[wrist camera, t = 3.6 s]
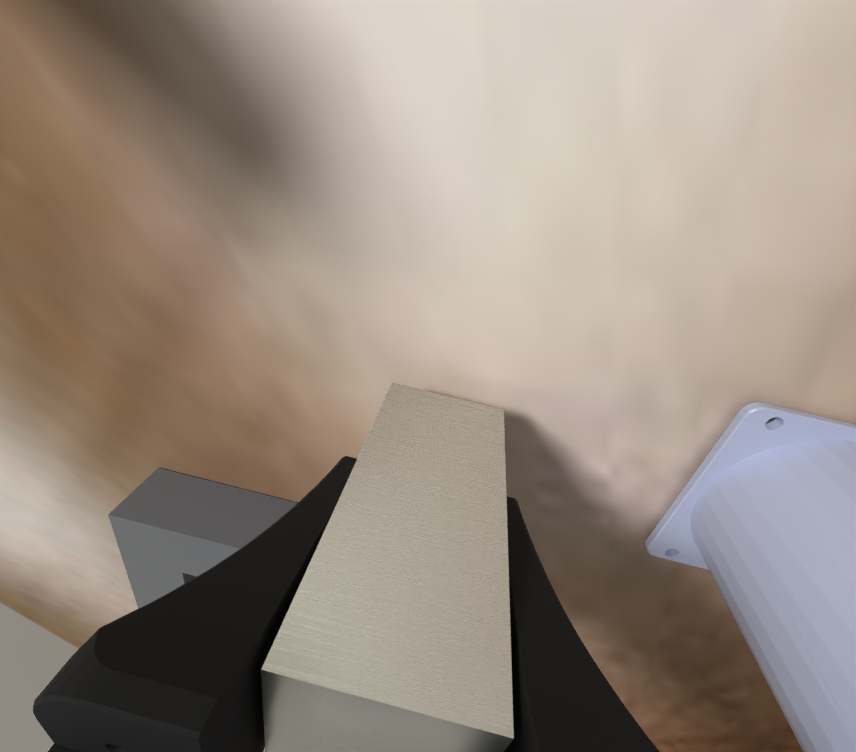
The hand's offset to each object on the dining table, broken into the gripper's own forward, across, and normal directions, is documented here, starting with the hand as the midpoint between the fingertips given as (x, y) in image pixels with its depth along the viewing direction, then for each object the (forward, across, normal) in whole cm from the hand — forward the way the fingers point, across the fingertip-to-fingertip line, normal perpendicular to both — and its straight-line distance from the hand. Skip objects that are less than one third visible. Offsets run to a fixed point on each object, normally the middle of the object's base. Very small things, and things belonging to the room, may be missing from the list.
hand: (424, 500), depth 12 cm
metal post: (+3, 0, 0) cm, 3 cm away
